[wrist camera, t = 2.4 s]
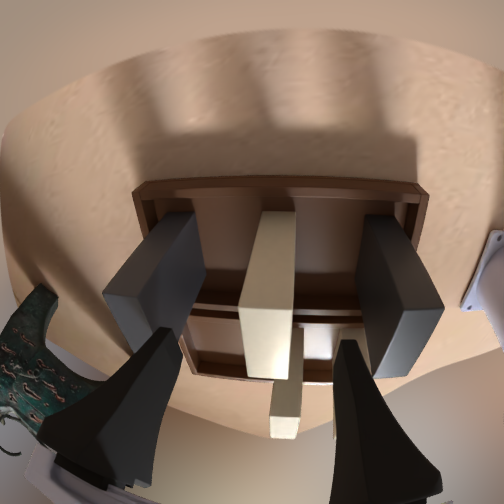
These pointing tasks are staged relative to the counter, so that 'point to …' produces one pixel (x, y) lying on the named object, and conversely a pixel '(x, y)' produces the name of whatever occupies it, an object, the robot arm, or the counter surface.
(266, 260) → the cream book
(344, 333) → the cream book
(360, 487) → the robot arm
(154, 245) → the charcoal book
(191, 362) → the shallow brown tray
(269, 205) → the dark wooden tray
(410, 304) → the charcoal book
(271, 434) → the cream book
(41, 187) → the counter surface
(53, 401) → the green mottled arch
